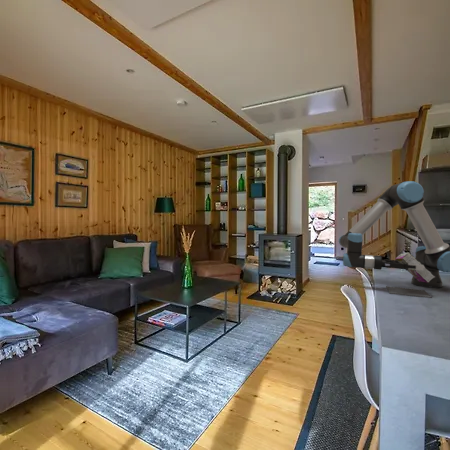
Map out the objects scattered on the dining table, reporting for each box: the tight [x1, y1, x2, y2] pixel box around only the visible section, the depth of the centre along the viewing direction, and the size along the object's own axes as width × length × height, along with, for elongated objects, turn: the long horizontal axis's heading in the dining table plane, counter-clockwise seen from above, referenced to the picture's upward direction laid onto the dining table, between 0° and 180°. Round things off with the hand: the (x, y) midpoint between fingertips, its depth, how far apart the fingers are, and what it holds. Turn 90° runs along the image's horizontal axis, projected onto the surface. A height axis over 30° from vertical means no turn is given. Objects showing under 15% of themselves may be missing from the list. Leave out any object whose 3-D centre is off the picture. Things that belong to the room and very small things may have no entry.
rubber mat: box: [385, 286, 433, 299], centre depth 148 cm, size 18×16×1 cm
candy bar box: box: [395, 252, 435, 283], centre depth 147 cm, size 11×5×16 cm
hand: (420, 266), depth 145 cm, fingers closed on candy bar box, 12 cm apart
